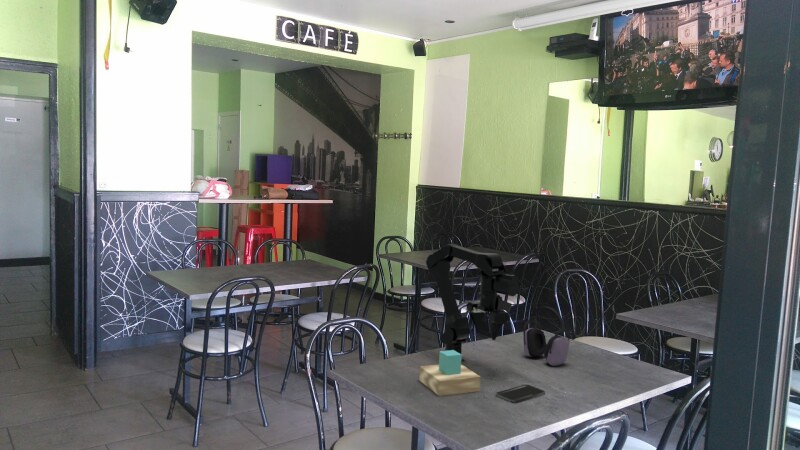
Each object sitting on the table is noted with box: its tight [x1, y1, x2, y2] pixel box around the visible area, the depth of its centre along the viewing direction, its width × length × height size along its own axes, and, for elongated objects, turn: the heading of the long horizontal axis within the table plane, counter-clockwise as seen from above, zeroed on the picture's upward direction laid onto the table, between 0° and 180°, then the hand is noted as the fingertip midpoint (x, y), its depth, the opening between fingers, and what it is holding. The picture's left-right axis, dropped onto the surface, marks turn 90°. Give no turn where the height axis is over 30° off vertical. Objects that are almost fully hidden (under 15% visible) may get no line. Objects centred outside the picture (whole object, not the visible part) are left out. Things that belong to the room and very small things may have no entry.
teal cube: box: [438, 350, 463, 375], centre depth 180 cm, size 5×5×6 cm
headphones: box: [523, 305, 571, 367], centre depth 211 cm, size 9×17×20 cm, turn 34°
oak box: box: [418, 364, 482, 397], centre depth 181 cm, size 14×14×5 cm
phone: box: [495, 384, 546, 404], centre depth 176 cm, size 8×1×15 cm
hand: (486, 336), depth 196 cm, fingers open, 9 cm apart
